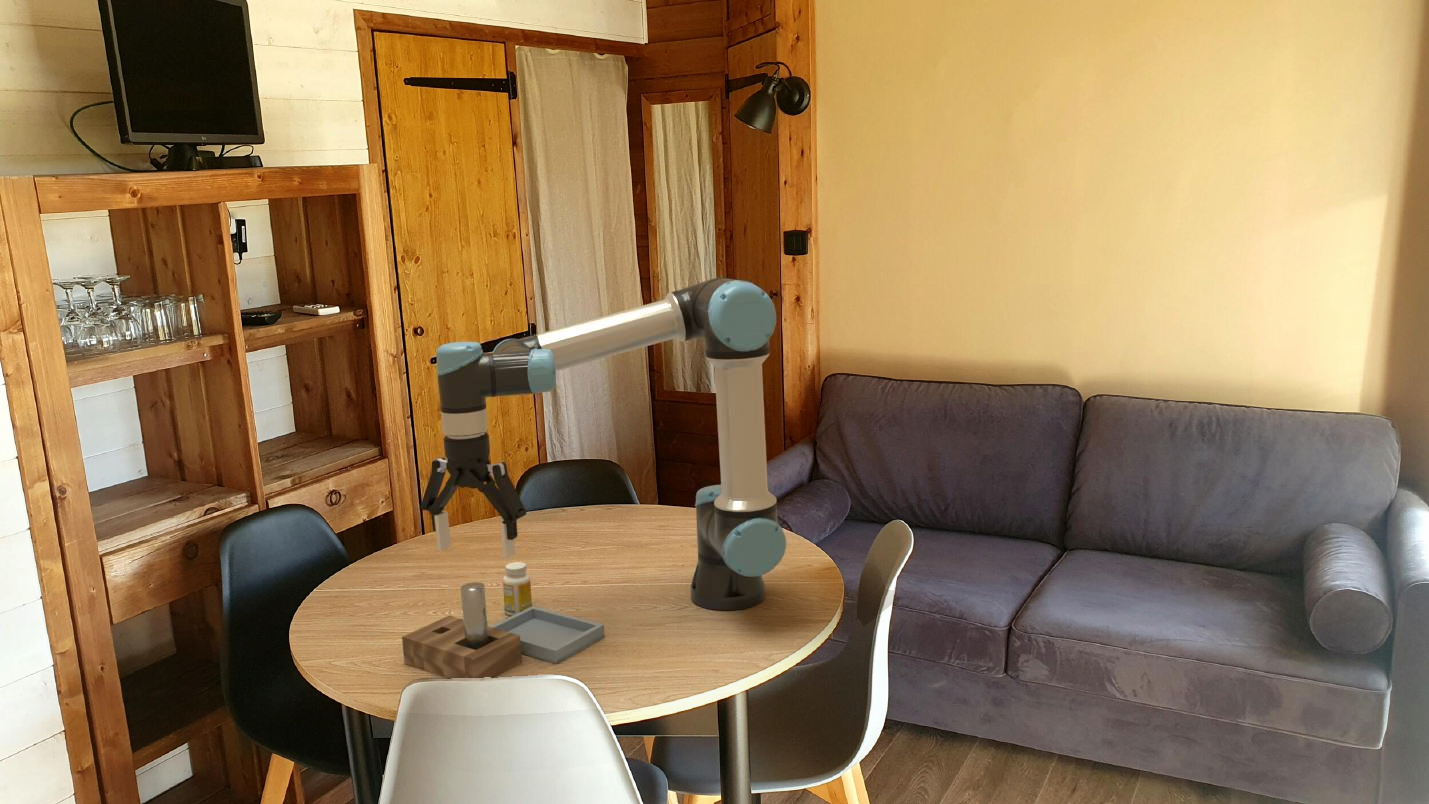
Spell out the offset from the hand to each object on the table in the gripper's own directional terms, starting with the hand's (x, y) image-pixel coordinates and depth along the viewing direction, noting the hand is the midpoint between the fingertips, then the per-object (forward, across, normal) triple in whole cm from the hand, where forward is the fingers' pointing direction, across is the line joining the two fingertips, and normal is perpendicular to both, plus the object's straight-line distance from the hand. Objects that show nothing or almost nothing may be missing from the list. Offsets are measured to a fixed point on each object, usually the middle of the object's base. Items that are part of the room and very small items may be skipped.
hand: (476, 553), depth 180 cm
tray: (+20, -5, -11) cm, 24 cm away
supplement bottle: (+20, +7, -21) cm, 30 cm away
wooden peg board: (+20, +3, +2) cm, 20 cm away
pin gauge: (+20, 0, +3) cm, 20 cm away
